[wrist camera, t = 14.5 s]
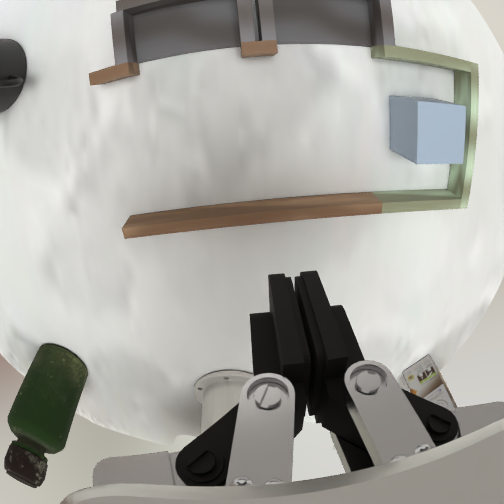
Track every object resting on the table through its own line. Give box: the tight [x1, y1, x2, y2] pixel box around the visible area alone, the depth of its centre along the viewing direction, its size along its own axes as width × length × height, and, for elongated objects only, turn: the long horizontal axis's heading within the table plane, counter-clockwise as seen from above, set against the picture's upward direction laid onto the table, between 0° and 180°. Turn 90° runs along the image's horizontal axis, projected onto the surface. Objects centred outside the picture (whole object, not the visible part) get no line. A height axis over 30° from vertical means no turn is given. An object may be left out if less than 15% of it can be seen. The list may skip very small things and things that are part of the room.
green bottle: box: [4, 344, 88, 488], centre depth 36 cm, size 10×10×25 cm
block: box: [389, 96, 466, 164], centre depth 26 cm, size 6×6×6 cm
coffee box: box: [403, 355, 457, 411], centre depth 45 cm, size 9×6×16 cm
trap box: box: [89, 0, 479, 239], centre depth 26 cm, size 24×39×3 cm, turn 95°
